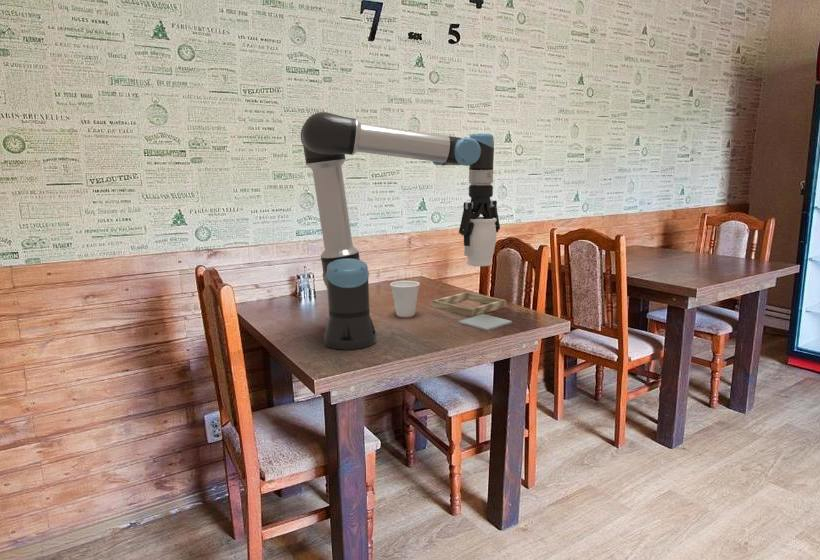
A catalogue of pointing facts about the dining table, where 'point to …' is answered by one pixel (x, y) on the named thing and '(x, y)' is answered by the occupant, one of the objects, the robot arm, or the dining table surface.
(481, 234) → the jar
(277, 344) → the dining table surface
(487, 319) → the mat
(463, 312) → the square wooden frame
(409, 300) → the cup
